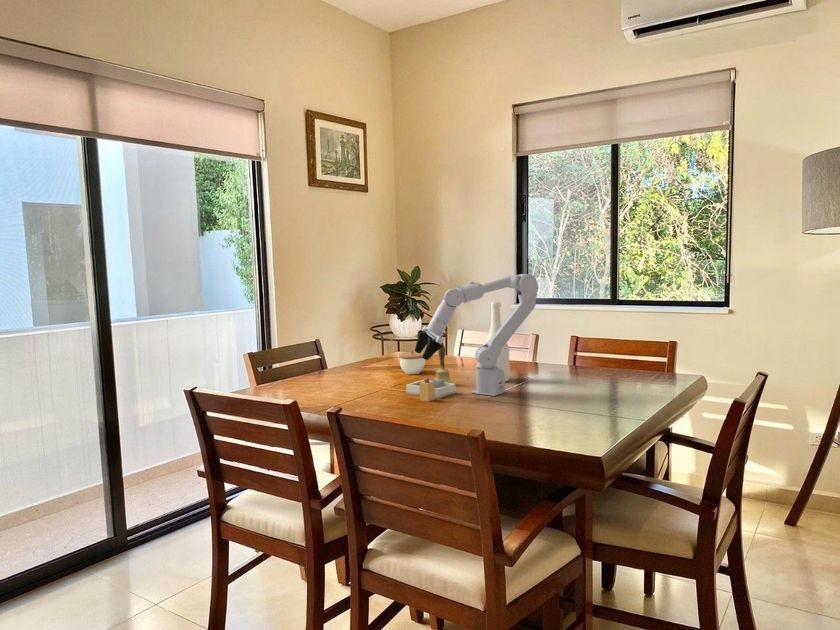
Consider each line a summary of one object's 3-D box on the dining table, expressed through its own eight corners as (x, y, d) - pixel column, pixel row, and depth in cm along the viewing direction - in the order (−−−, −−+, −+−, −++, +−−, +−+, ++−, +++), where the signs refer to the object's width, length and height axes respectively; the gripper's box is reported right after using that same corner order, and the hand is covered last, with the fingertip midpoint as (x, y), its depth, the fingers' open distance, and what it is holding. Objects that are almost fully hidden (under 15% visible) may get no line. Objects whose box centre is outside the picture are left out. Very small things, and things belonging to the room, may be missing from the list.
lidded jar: (395, 372, 255) (394, 350, 254) (419, 369, 259) (418, 347, 258) (406, 376, 245) (405, 353, 244) (430, 373, 249) (429, 350, 249)
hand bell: (427, 386, 225) (426, 343, 223) (437, 382, 232) (436, 340, 231) (448, 387, 221) (447, 344, 219) (457, 383, 228) (456, 341, 227)
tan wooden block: (434, 399, 203) (434, 378, 202) (428, 401, 200) (427, 380, 200) (426, 398, 205) (425, 377, 205) (419, 400, 202) (419, 378, 202)
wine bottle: (509, 377, 236) (507, 300, 233) (510, 382, 226) (508, 302, 224) (484, 378, 237) (482, 300, 234) (484, 382, 227) (482, 302, 225)
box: (455, 392, 212) (455, 378, 212) (438, 398, 204) (438, 383, 204) (423, 388, 221) (423, 374, 220) (406, 393, 213) (405, 379, 212)
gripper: (423, 310, 213) (404, 344, 214) (438, 321, 200) (418, 357, 201) (439, 319, 216) (420, 352, 217) (455, 330, 203) (435, 365, 204)
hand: (420, 355), depth 209 cm, fingers open, 7 cm apart
